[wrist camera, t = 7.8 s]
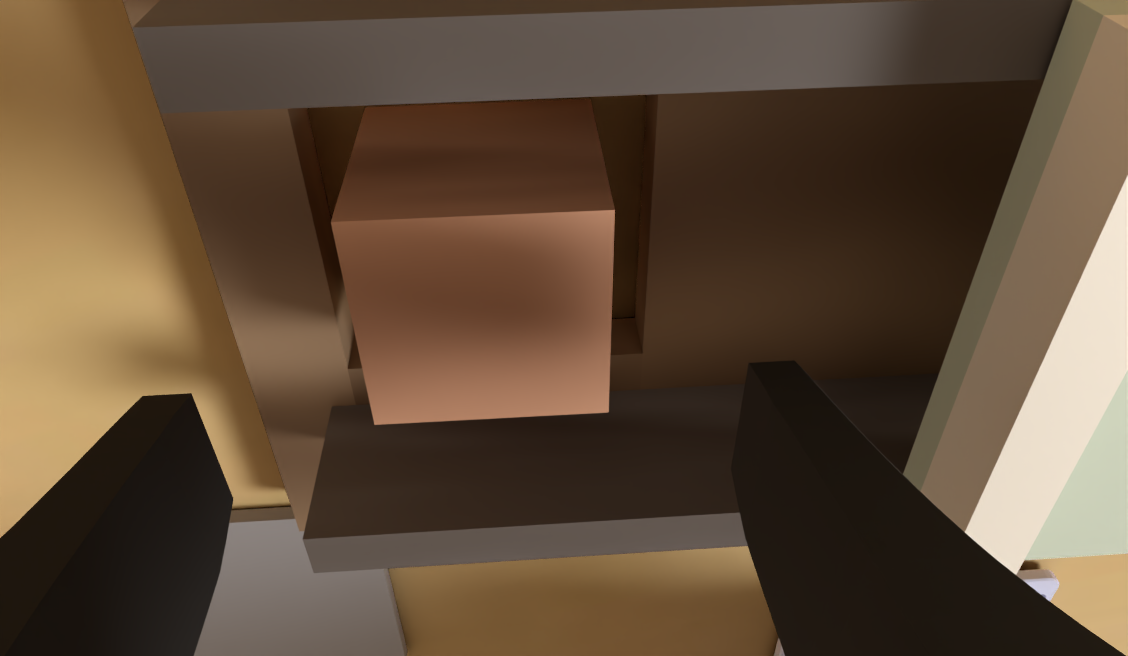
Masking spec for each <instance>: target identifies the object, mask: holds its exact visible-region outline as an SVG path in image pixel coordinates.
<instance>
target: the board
mask: <svg viewBox="0 0 1128 656" xmlns="http://www.w3.org/2000/svg"><path fill="white" fill-rule="evenodd" d="M1072 1H1073V0H123V3H124V6H125V9H126V12H127V15H128V18H129V21H130V24H131V27H132V30H133V33H134V36H135V39H136V42H137V45H138V48H139V51H140V54H141V57H142V60H143V63H144V66H145V69H146V72H147V75H148V78H149V81H150V84H151V87H152V90H153V93H154V96H155V99H156V102H157V105H158V108H159V111H160V114H161V117H162V120H163V123H164V126H165V129H166V132H167V135H168V138H169V141H170V144H171V147H172V150H173V153H174V156H175V159H176V162H177V165H178V168H179V171H180V174H181V177H182V180H183V183H184V186H185V189H186V192H187V195H188V198H189V201H190V204H191V207H192V210H193V213H194V216H195V219H196V222H197V225H198V228H199V231H200V234H201V237H202V240H203V243H204V246H205V249H206V252H207V255H208V258H209V261H210V264H211V267H212V270H213V273H214V276H215V279H216V282H217V285H218V288H219V291H220V294H221V297H222V300H223V303H224V306H225V309H226V312H227V315H228V318H229V321H230V324H231V327H232V330H233V333H234V336H235V339H236V342H237V345H238V348H239V351H240V354H241V357H242V360H243V363H244V366H245V369H246V372H247V375H248V378H249V381H250V384H251V387H252V390H253V393H254V396H255V400H256V403H257V406H258V409H259V412H260V415H261V418H262V421H263V424H264V427H265V430H266V433H267V436H268V439H269V442H270V445H271V448H272V451H273V454H274V457H275V460H276V463H277V466H278V469H279V472H280V475H281V478H282V481H283V484H284V487H285V490H286V493H287V496H288V499H289V502H290V505H291V508H292V511H293V514H294V517H295V520H296V523H297V526H298V529H299V531H304V535H303V542H304V545H305V548H306V551H307V554H308V557H309V560H310V563H311V566H312V569H313V572H314V573H325V572H341V571H357V570H373V569H389V568H405V567H421V566H436V565H452V564H468V563H484V562H500V561H516V560H532V559H547V558H563V557H579V556H595V555H611V554H627V553H643V552H658V551H674V550H690V549H706V548H722V547H738V546H748V545H747V542H746V539H745V534H744V530H743V525H742V521H741V516H740V512H739V507H738V502H737V497H736V492H735V487H734V482H733V477H732V472H731V465H732V459H733V453H734V447H735V441H736V435H737V429H738V423H739V417H740V411H741V405H742V399H743V393H744V387H745V381H746V375H747V369H748V363H755V362H774V361H792V360H794V361H795V362H796V363H797V364H799V365H800V366H801V368H802V369H803V370H804V371H805V372H806V373H807V374H808V375H809V376H810V377H811V378H812V379H813V380H814V382H815V383H816V384H817V385H818V386H819V387H820V388H821V389H822V390H823V391H824V392H825V394H826V395H827V396H828V397H829V398H830V399H831V400H832V401H833V402H834V403H835V404H836V406H837V407H838V408H839V409H840V410H841V411H842V412H843V413H844V414H845V415H846V416H847V417H848V418H849V420H850V421H851V422H852V423H853V424H854V425H855V426H856V427H857V428H858V429H859V430H860V431H861V432H862V433H863V434H864V435H865V436H866V438H867V439H868V440H869V441H870V442H871V443H872V444H873V445H874V446H875V447H876V448H877V449H878V450H879V451H880V452H881V453H882V454H883V455H884V456H885V457H886V458H887V459H888V460H889V461H890V462H891V463H892V464H893V465H894V466H895V467H896V468H897V469H898V470H899V471H900V472H901V473H902V474H903V473H904V470H905V467H906V465H907V462H908V459H909V456H910V453H911V451H912V448H913V445H914V442H915V439H916V437H917V434H918V431H919V428H920V426H921V423H922V420H923V417H924V414H925V412H926V409H927V406H928V403H929V400H930V398H931V395H932V392H933V389H934V386H935V384H936V381H937V378H938V375H939V372H940V370H941V367H942V364H943V361H944V358H945V356H946V353H947V350H948V347H949V344H950V342H951V339H952V336H953V333H954V331H955V328H956V325H957V322H958V319H959V317H960V314H961V311H962V308H963V305H964V303H965V300H966V297H967V294H968V291H969V289H970V286H971V283H972V280H973V277H974V275H975V272H976V269H977V266H978V263H979V261H980V258H981V255H982V252H983V250H984V247H985V244H986V241H987V238H988V236H989V233H990V230H991V227H992V224H993V222H994V219H995V216H996V213H997V210H998V208H999V205H1000V202H1001V199H1002V196H1003V194H1004V191H1005V188H1006V185H1007V182H1008V180H1009V177H1010V174H1011V171H1012V168H1013V166H1014V163H1015V160H1016V157H1017V155H1018V152H1019V149H1020V146H1021V143H1022V141H1023V138H1024V135H1025V132H1026V129H1027V127H1028V124H1029V121H1030V118H1031V115H1032V113H1033V110H1034V107H1035V104H1036V101H1037V99H1038V96H1039V93H1040V90H1041V87H1042V85H1043V82H1044V79H1045V76H1046V73H1047V71H1048V68H1049V65H1050V62H1051V60H1052V57H1053V54H1054V51H1055V48H1056V46H1057V43H1058V40H1059V37H1060V34H1061V32H1062V29H1063V26H1064V23H1065V20H1066V18H1067V15H1068V12H1069V9H1070V6H1071V4H1072ZM625 95H646V111H645V131H644V150H643V170H642V189H641V208H640V228H639V247H638V267H637V286H636V306H635V318H625V319H612V321H611V353H610V386H609V412H607V413H588V414H570V415H551V416H532V417H513V418H494V419H475V420H457V421H438V422H419V423H400V424H381V425H374V420H373V416H372V411H371V406H370V402H369V397H368V392H367V388H366V383H365V378H364V374H363V369H362V365H361V360H360V355H359V351H358V346H357V341H356V337H355V332H354V327H353V323H352V318H351V314H350V309H349V304H348V300H347V295H346V290H345V286H344V281H343V276H342V272H341V267H340V262H339V258H338V253H337V249H336V244H335V239H334V235H333V230H332V225H331V217H330V213H329V208H328V203H327V199H326V194H325V189H324V185H323V180H322V175H321V171H320V166H319V162H318V157H317V152H316V148H315V143H314V138H313V134H312V129H311V125H310V120H309V115H308V111H307V108H314V107H340V106H366V105H392V104H418V103H444V102H470V101H496V100H522V99H547V98H573V97H599V96H625Z"/></svg>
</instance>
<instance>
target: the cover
mask: <svg viewBox="0 0 1128 656" xmlns="http://www.w3.org/2000/svg"><path fill="white" fill-rule="evenodd" d="M903 475H904V476H905V477H906V478H907V479H908V480H909V481H910V482H911V483H912V484H913V485H914V486H915V487H916V488H917V489H918V490H919V491H920V492H921V493H923V494H924V495H925V496H926V497H927V498H928V499H929V500H930V501H931V502H932V503H933V504H934V505H935V506H936V507H937V508H938V509H940V510H941V511H942V512H943V513H944V514H945V515H946V516H947V517H948V518H949V519H951V520H952V521H953V522H954V523H955V524H956V525H957V526H958V527H959V528H961V529H962V530H963V531H964V532H965V533H966V534H967V535H968V536H969V537H971V538H972V539H973V540H974V541H975V542H976V543H978V544H979V545H980V546H981V547H982V548H983V549H985V550H986V551H987V552H988V553H989V554H991V555H992V556H993V557H994V558H995V559H996V560H998V561H999V562H1000V563H1001V564H1003V565H1004V566H1005V567H1006V568H1008V569H1009V570H1010V571H1012V572H1013V573H1014V574H1015V575H1016V574H1017V573H1018V571H1019V569H1020V567H1021V565H1022V563H1023V562H1024V560H1035V559H1050V558H1066V557H1081V556H1096V555H1112V554H1127V553H1128V0H1073V1H1072V4H1071V6H1070V9H1069V12H1068V15H1067V18H1066V20H1065V23H1064V26H1063V29H1062V32H1061V34H1060V37H1059V40H1058V43H1057V46H1056V48H1055V51H1054V54H1053V57H1052V60H1051V62H1050V65H1049V68H1048V71H1047V73H1046V76H1045V79H1044V82H1043V85H1042V87H1041V90H1040V93H1039V96H1038V99H1037V101H1036V104H1035V107H1034V110H1033V113H1032V115H1031V118H1030V121H1029V124H1028V127H1027V129H1026V132H1025V135H1024V138H1023V141H1022V143H1021V146H1020V149H1019V152H1018V155H1017V157H1016V160H1015V163H1014V166H1013V168H1012V171H1011V174H1010V177H1009V180H1008V182H1007V185H1006V188H1005V191H1004V194H1003V196H1002V199H1001V202H1000V205H999V208H998V210H997V213H996V216H995V219H994V222H993V224H992V227H991V230H990V233H989V236H988V238H987V241H986V244H985V247H984V250H983V252H982V255H981V258H980V261H979V263H978V266H977V269H976V272H975V275H974V277H973V280H972V283H971V286H970V289H969V291H968V294H967V297H966V300H965V303H964V305H963V308H962V311H961V314H960V317H959V319H958V322H957V325H956V328H955V331H954V333H953V336H952V339H951V342H950V344H949V347H948V350H947V353H946V356H945V358H944V361H943V364H942V367H941V370H940V372H939V375H938V378H937V381H936V384H935V386H934V389H933V392H932V395H931V398H930V400H929V403H928V406H927V409H926V412H925V414H924V417H923V420H922V423H921V426H920V428H919V431H918V434H917V437H916V439H915V442H914V445H913V448H912V451H911V453H910V456H909V459H908V462H907V465H906V467H905V470H904V473H903Z"/></svg>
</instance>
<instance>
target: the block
mask: <svg viewBox="0 0 1128 656" xmlns="http://www.w3.org/2000/svg"><path fill="white" fill-rule="evenodd" d="M614 224H615V208H614V203H613V199H612V194H611V190H610V185H609V181H608V176H607V172H606V167H605V162H604V158H603V153H602V149H601V144H600V140H599V135H598V131H597V126H596V121H595V117H594V112H593V108H592V103H591V99H590V98H588V99H562V100H535V101H509V102H482V103H456V104H429V105H403V106H376V107H365V109H364V113H363V116H362V119H361V123H360V126H359V129H358V133H357V136H356V139H355V143H354V146H353V149H352V153H351V156H350V159H349V163H348V166H347V169H346V173H345V176H344V180H343V183H342V186H341V190H340V193H339V196H338V200H337V203H336V206H335V210H334V213H333V216H332V220H331V225H332V230H333V235H334V239H335V244H336V249H337V253H338V258H339V262H340V267H341V272H342V276H343V281H344V286H345V290H346V295H347V300H348V304H349V309H350V314H351V318H352V323H353V327H354V332H355V337H356V341H357V346H358V351H359V355H360V360H361V365H362V369H363V374H364V378H365V383H366V388H367V392H368V397H369V402H370V406H371V411H372V416H373V420H374V425H381V424H400V423H419V422H438V421H457V420H475V419H494V418H513V417H532V416H551V415H570V414H588V413H607V412H609V386H610V353H611V321H612V288H613V256H614Z"/></svg>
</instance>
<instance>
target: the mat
mask: <svg viewBox="0 0 1128 656" xmlns="http://www.w3.org/2000/svg"><path fill="white" fill-rule="evenodd" d="M303 535H304V531H299V529H298V526H297V523H296V520H295V517H294V514H293V511H292V508H291V507H279V508H262V509H245V510H231V516H230V522H229V528H228V534H227V540H226V545H225V550H224V555H223V560H222V565H221V570H220V574H219V577H218V581H217V584H216V587H215V591H214V594H213V597H212V600H211V603H210V607H209V610H208V613H207V616H206V619H205V622H204V626H203V629H202V632H201V635H200V638H199V641H198V644H197V647H196V650H195V653H194V656H407V652H408V651H407V647H406V643H405V638H404V634H403V630H402V626H401V622H400V617H399V613H398V609H397V605H396V601H395V596H394V592H393V588H392V584H391V580H390V576H389V571H388V569H373V570H357V571H341V572H325V573H314V572H313V569H312V566H311V563H310V560H309V557H308V554H307V551H306V548H305V545H304V542H303Z"/></svg>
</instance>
